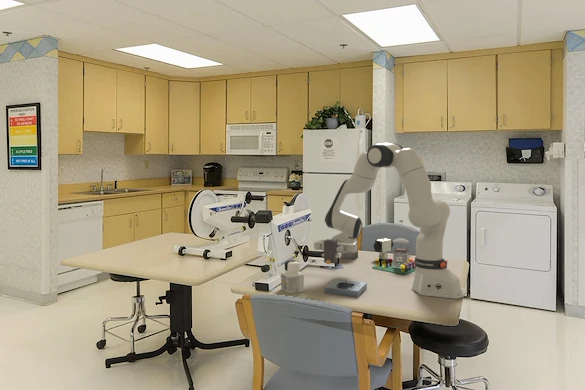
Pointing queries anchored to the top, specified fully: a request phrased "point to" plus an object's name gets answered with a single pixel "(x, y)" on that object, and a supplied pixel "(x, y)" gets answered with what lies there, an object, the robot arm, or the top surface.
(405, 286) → the top surface
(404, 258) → the french press
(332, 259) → the block
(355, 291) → the plate
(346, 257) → the pillar candle
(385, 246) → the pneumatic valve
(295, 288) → the container
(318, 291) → the top surface
